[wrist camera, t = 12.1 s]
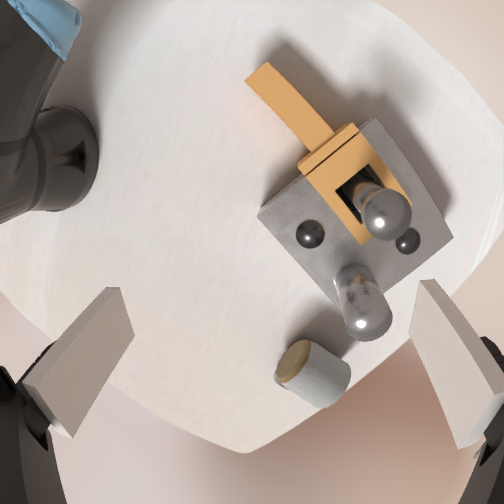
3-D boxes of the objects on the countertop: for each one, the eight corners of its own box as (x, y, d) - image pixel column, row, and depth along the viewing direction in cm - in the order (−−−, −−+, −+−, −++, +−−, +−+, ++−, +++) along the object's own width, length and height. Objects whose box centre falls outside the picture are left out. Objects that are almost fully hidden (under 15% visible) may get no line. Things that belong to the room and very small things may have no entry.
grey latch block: (260, 207, 35) (244, 243, 24) (367, 119, 30) (404, 112, 19) (342, 301, 38) (356, 363, 27) (439, 227, 33) (489, 265, 22)
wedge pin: (351, 208, 34) (382, 250, 22) (331, 183, 33) (354, 212, 21) (376, 188, 32) (420, 220, 20) (356, 162, 32) (394, 179, 19)
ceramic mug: (307, 325, 40) (307, 363, 33) (349, 353, 41) (355, 391, 34) (261, 368, 44) (254, 405, 37) (302, 390, 45) (300, 428, 38)
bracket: (236, 99, 31) (227, 93, 26) (283, 59, 28) (282, 47, 24) (352, 230, 35) (360, 245, 30) (397, 194, 32) (412, 204, 28)
